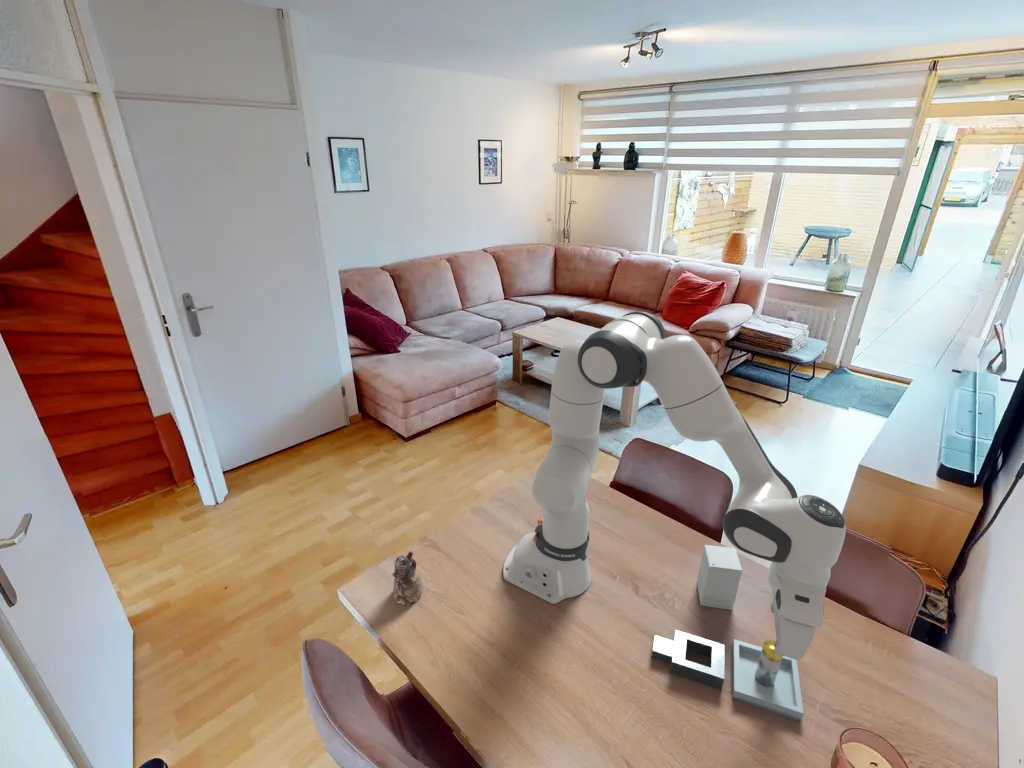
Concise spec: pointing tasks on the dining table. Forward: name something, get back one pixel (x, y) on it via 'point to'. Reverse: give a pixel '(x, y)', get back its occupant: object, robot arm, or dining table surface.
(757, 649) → the parts tray
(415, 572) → the figurine
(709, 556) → the supplement box
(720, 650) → the block
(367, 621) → the dining table surface
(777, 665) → the small capped bottle
